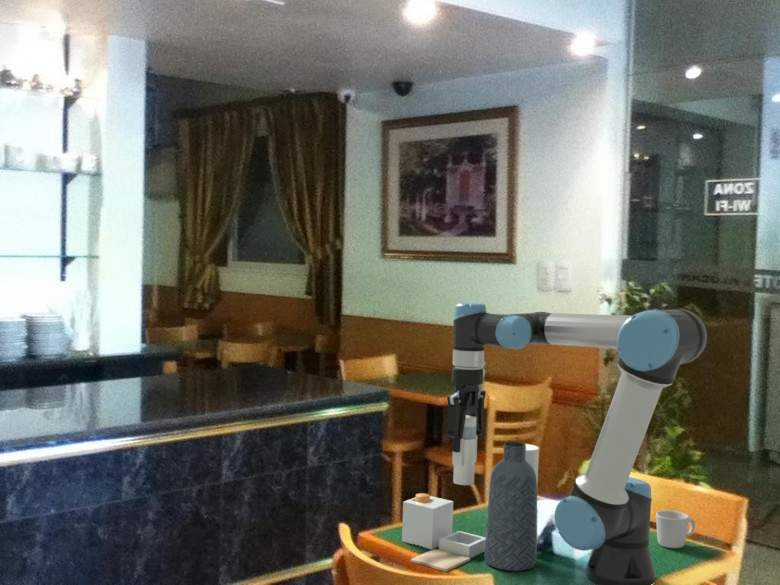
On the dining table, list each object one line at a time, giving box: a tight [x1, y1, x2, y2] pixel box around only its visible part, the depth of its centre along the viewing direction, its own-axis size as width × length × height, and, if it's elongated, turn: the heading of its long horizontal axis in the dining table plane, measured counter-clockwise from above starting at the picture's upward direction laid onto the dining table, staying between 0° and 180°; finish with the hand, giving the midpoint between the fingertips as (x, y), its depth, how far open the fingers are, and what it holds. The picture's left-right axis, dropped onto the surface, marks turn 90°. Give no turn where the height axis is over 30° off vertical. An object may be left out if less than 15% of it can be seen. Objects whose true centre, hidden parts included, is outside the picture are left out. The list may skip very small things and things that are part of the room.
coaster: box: [410, 548, 471, 573], centre depth 223 cm, size 10×10×1 cm
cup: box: [655, 509, 696, 549], centre depth 240 cm, size 11×8×8 cm
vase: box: [484, 441, 538, 572], centre depth 222 cm, size 12×12×28 cm
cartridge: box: [452, 414, 476, 486], centre depth 229 cm, size 5×5×16 cm
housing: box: [401, 495, 486, 559], centre depth 234 cm, size 20×9×10 cm, turn 53°
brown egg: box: [414, 492, 431, 504], centre depth 238 cm, size 4×4×6 cm
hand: (464, 462), depth 229 cm, fingers closed on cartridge, 5 cm apart
